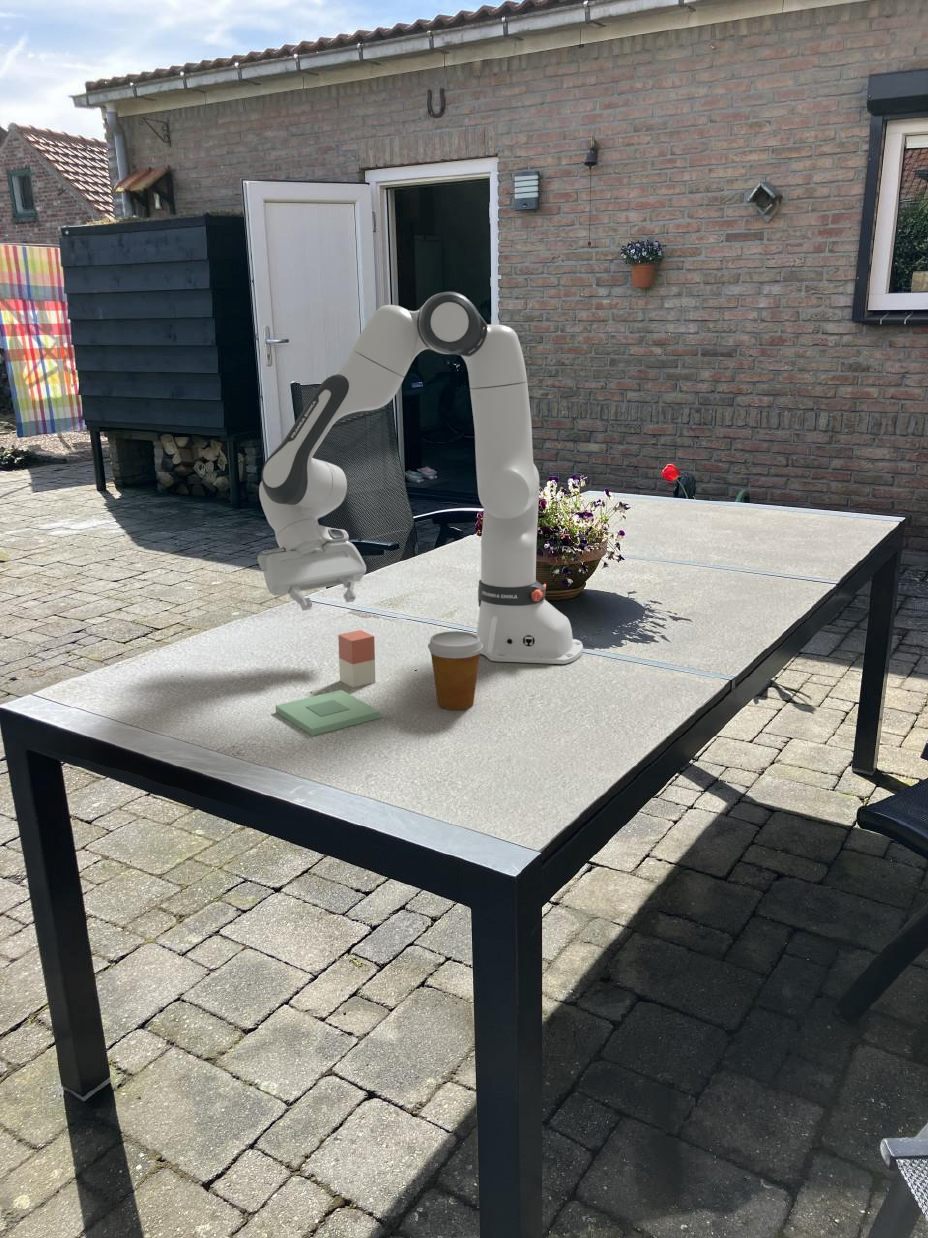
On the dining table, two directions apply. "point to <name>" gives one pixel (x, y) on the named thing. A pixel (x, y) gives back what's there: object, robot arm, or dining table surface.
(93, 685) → the dining table surface
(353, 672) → the pink and cream block
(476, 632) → the robot arm
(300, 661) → the dining table surface
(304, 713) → the baseplate
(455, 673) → the disposable coffee cup
